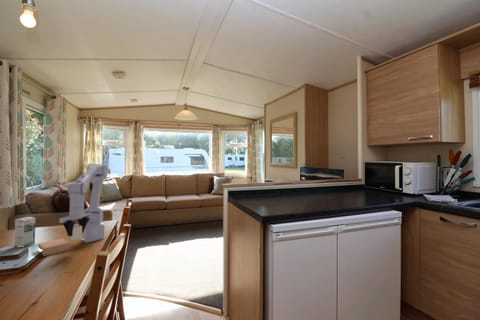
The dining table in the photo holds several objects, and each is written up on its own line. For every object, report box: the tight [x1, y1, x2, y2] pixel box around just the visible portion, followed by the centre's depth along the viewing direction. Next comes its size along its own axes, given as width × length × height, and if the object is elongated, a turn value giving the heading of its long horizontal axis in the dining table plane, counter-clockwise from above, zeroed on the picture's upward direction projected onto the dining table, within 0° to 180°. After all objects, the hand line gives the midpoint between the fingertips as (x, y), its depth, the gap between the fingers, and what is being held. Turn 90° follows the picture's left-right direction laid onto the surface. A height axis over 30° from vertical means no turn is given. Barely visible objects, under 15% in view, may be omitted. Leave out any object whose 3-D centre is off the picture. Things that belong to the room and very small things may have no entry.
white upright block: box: [68, 224, 83, 241], centre depth 110 cm, size 4×4×6 cm
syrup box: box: [13, 216, 36, 247], centre depth 118 cm, size 6×6×14 cm
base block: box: [37, 238, 71, 257], centre depth 112 cm, size 10×10×4 cm
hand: (75, 234), depth 110 cm, fingers closed on white upright block, 5 cm apart
